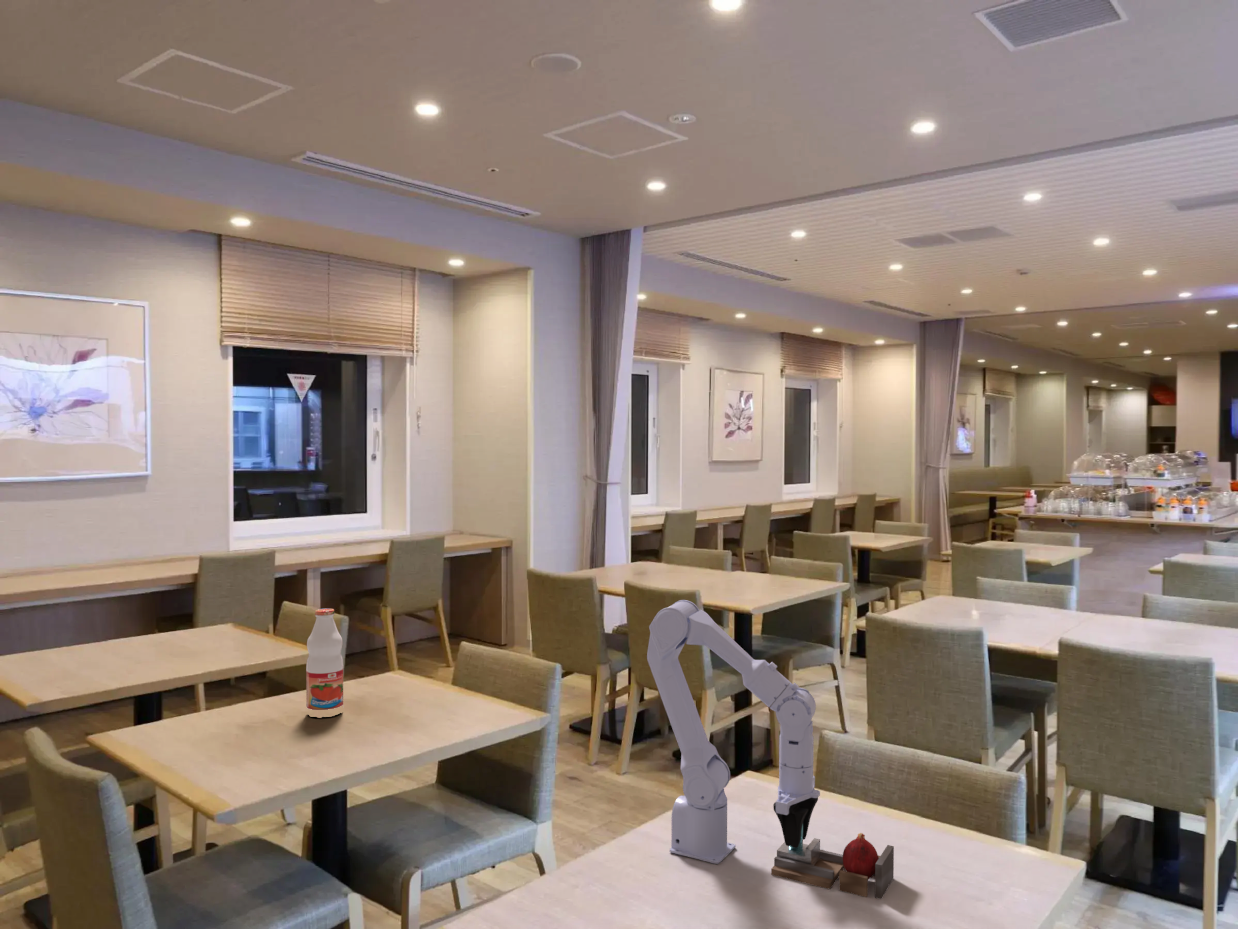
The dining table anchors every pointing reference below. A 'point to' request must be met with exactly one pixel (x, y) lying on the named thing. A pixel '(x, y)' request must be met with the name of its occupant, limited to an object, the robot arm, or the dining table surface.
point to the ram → (801, 851)
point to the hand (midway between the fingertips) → (795, 842)
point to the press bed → (838, 873)
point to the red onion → (860, 857)
